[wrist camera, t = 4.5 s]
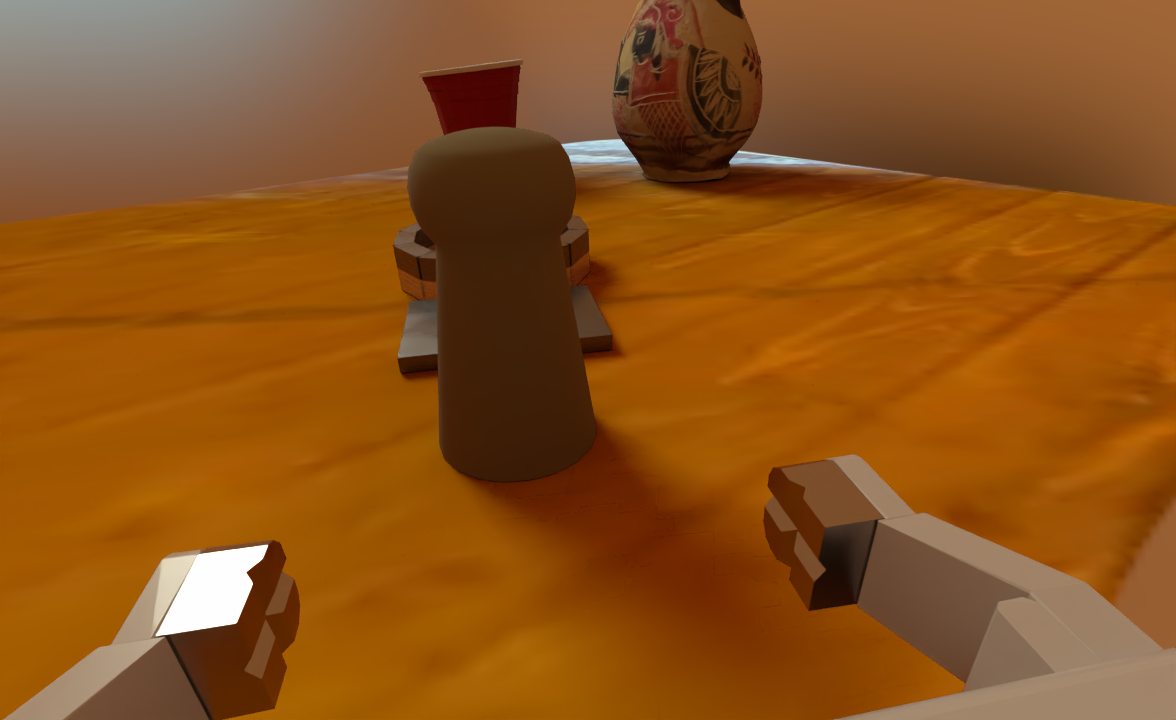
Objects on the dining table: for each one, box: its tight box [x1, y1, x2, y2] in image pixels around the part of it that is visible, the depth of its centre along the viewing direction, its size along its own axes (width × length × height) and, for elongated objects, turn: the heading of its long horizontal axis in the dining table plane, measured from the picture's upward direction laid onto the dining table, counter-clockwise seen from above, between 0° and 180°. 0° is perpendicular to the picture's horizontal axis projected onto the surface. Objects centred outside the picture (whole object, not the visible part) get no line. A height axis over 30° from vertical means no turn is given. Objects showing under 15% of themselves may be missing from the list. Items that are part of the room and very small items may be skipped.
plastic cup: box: [418, 59, 523, 135], centre depth 64 cm, size 11×11×12 cm
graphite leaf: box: [393, 215, 612, 373], centre depth 36 cm, size 12×19×3 cm, turn 10°
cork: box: [407, 127, 597, 482], centre depth 21 cm, size 6×6×11 cm
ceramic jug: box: [612, 0, 762, 182], centre depth 59 cm, size 17×15×30 cm
